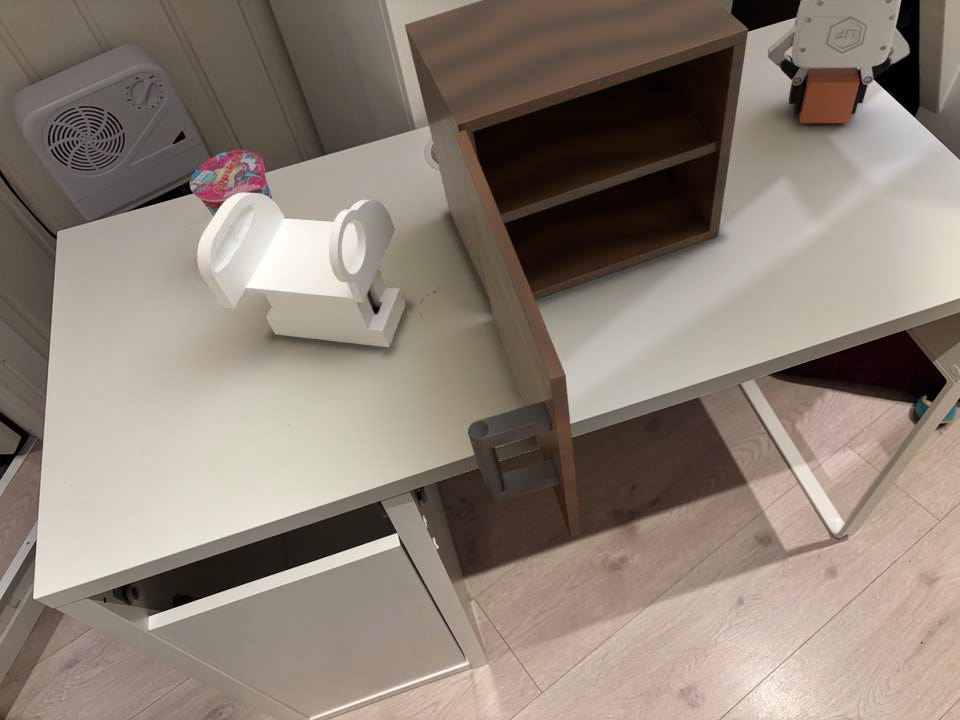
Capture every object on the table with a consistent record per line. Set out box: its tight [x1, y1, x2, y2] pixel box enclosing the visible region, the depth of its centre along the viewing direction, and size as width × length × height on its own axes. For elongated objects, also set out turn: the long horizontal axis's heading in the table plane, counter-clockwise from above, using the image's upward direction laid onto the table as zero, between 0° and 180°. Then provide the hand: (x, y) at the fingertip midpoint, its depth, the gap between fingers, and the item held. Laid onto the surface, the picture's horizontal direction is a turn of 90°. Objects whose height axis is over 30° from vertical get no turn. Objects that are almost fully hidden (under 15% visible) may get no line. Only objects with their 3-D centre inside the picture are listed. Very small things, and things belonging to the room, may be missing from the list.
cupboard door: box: [455, 130, 582, 539], centre depth 63 cm, size 7×26×24 cm, turn 14°
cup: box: [189, 149, 274, 217], centre depth 88 cm, size 9×8×12 cm
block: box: [798, 67, 860, 124], centre depth 90 cm, size 6×6×6 cm
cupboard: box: [404, 0, 749, 300], centre depth 77 cm, size 18×26×24 cm
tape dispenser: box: [196, 192, 406, 348], centre depth 76 cm, size 14×13×18 cm
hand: (823, 106), depth 91 cm, fingers closed on block, 5 cm apart
